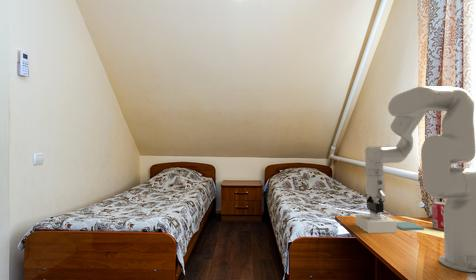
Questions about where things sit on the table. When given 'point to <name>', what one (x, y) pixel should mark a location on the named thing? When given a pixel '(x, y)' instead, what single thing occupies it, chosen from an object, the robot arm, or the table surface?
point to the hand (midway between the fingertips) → (374, 209)
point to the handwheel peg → (373, 210)
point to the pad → (408, 226)
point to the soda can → (438, 215)
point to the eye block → (376, 224)
